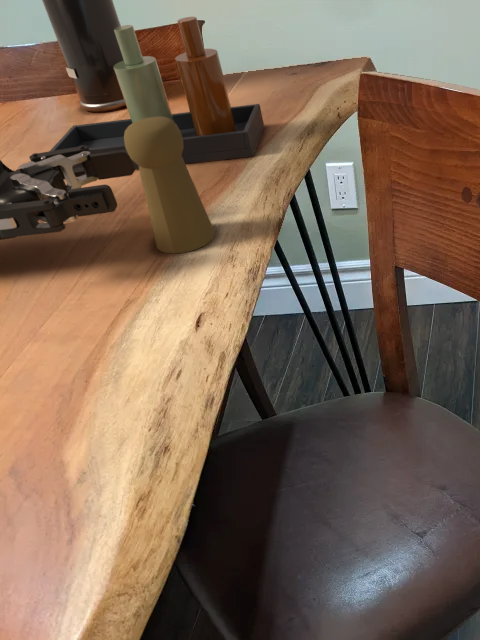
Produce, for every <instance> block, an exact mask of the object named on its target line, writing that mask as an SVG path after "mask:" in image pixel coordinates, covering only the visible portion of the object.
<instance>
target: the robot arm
mask: <svg viewBox="0 0 480 640" xmlns="http://www.w3.org/2000/svg"><path fill="white" fill-rule="evenodd" d="M41 1H42V3H43V6H44V8H45V11H46V14H47V17H48V20H49V22H50V25H51V27H52V30H53V32H54V35H55V38H56V41H57V43H58V46H59V49H60V51H61V53H62V56H63V59H64V62H65V64H66V66H65V70H66V73H67V76H68V77H69V78H71V80H72V83H73V86H74V88H75V91H76V94H77V96H78V99H79V103H80V105H81V109H82V110H84V111H85V112H92V113H93V112H95V113H98V112H108V111H112V110H113V111H114V110H117V109H122V108H125V107H127V106H126V103H125V100H124V97H123V94H122V91H121V88H120V85H119V82H118V79H117V77H116V74H115V71H114V68H113V67H114V65H115V64H117V63H119V62H121V61H124V59H123V56H122V53H121V50H120V47H119V44H118V41H117V38H116V35H115V32H114V29H115V28H117V27H120V26H122V25H121V22H120V19H119V17H118V13H117V10H116V6H115V4H114V1H113V0H41ZM28 158H29V160H30V161H28V162H24V163H22V164H19V165H18V168H17V169H16V170H14V169H13V170H12V169H11V168H9V166H7V165H6V164H5V163H4V162H3V161H2V160H1V159H0V241H3V240H9V239H14V238H17V237H25V236H34V235H35V236H36V235H45V234H52V233H53V234H55V233H60V232H62V231H64V230H65V229H66V225H65V224H64V223H73V222H75V221H77V219H78V218H79V217H87V216H95V215H101V214H102V215H103V214H108V213H113V212H115V211H116V210H117V207H118V202H117V200H116V196H115V194H114V191H113V189H112V187H111V186H110V185H109V184H98V185H90V186H85V185H87V184H90V183H93V182H97V181H101V180H107V179H114V178H122V177H130V176H132V175H134V172H135V171H136V169H135V167H134V164H133V161H132V159H131V158H130V156H129V155H128V153H127V150H118V151H111V152H104V153H97V154H91V153H90V150H89V147H88V146H84V145H82V146H79V147H73V148H67V149H61V150H55V151H50V150H48V151H44V152H43V151H42V152H34V153H31V155H29V157H28ZM78 163H81V164H82V166H83V167H82V168H73V165H76V164H78ZM65 181H66V182H65ZM82 186H83V187H82Z"/></svg>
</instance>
